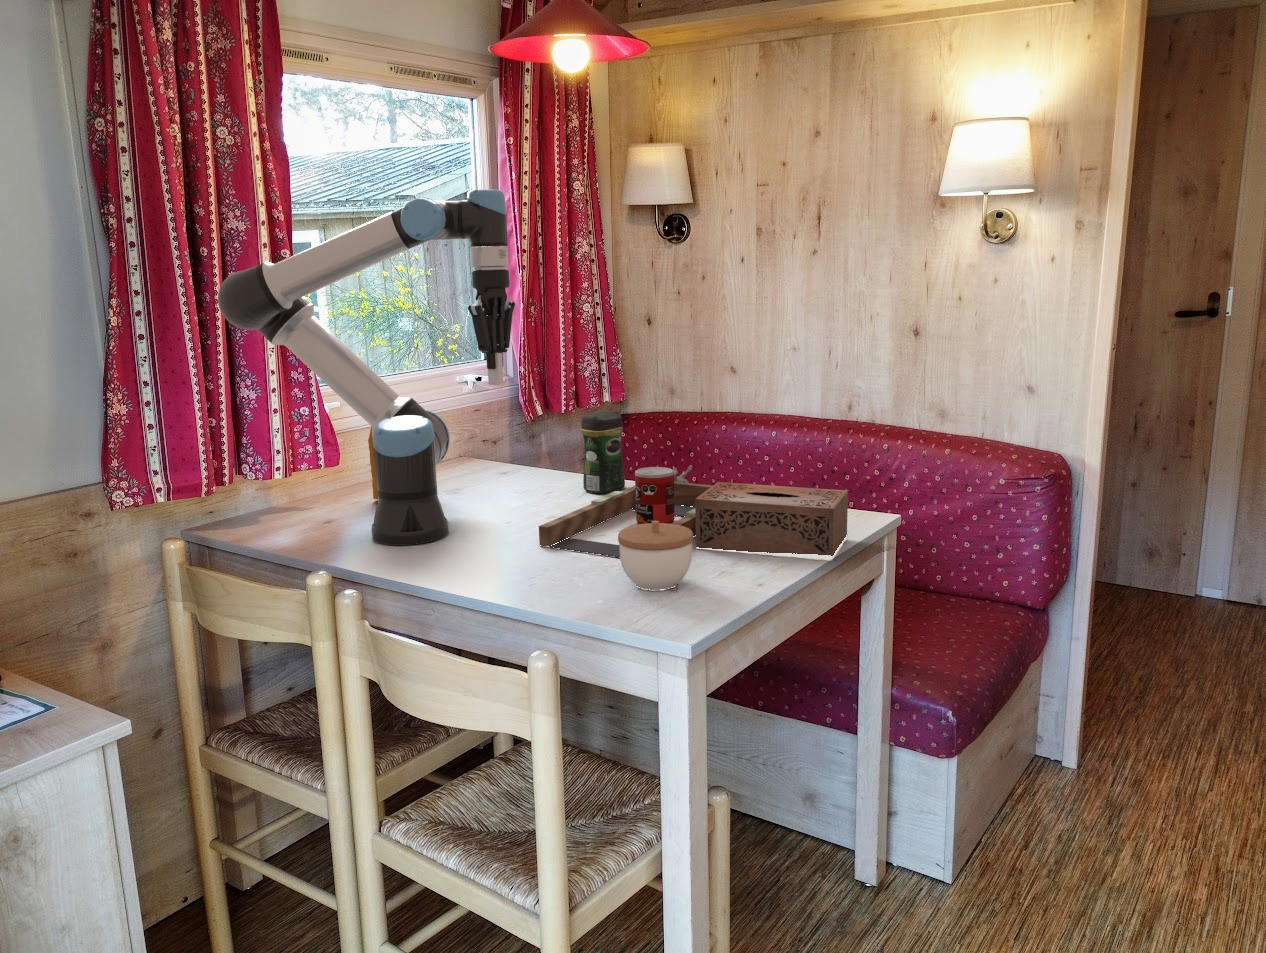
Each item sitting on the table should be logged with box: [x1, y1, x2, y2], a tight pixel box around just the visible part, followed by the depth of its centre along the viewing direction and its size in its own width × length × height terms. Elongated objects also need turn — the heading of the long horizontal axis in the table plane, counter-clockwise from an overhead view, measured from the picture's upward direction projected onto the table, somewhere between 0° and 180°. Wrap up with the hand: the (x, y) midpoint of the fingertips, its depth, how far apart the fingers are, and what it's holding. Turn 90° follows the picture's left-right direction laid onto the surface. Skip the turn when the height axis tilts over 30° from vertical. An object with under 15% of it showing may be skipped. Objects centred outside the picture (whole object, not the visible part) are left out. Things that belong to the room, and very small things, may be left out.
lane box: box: [538, 482, 713, 547], centre depth 211 cm, size 40×24×5 cm, turn 150°
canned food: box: [634, 466, 676, 525], centre depth 214 cm, size 8×8×11 cm
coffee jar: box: [580, 410, 626, 494], centre depth 242 cm, size 10×8×19 cm
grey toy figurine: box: [673, 465, 694, 483], centre depth 236 cm, size 10×6×9 cm
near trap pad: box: [549, 537, 620, 557], centre depth 197 cm, size 6×19×1 cm, turn 60°
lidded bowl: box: [617, 521, 694, 590], centre depth 175 cm, size 13×13×11 cm
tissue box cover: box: [695, 481, 849, 556], centre depth 197 cm, size 26×14×10 cm, turn 69°
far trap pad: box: [630, 505, 695, 517], centre depth 223 cm, size 8×19×1 cm, turn 60°
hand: (496, 384), depth 216 cm, fingers closed
